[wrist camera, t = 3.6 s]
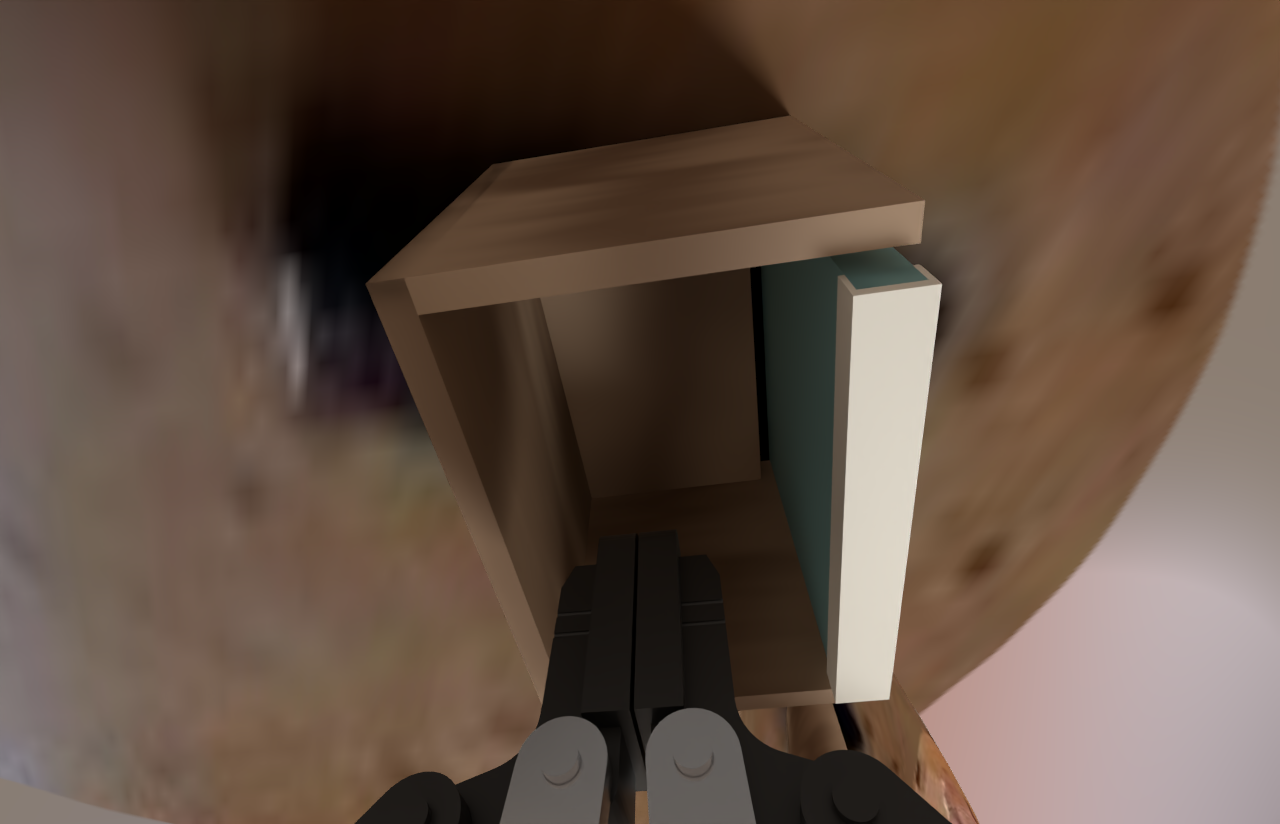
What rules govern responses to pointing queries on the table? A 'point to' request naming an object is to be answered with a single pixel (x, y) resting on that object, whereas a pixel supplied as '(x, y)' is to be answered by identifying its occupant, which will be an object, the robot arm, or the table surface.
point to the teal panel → (850, 442)
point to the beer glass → (868, 743)
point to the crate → (629, 366)
